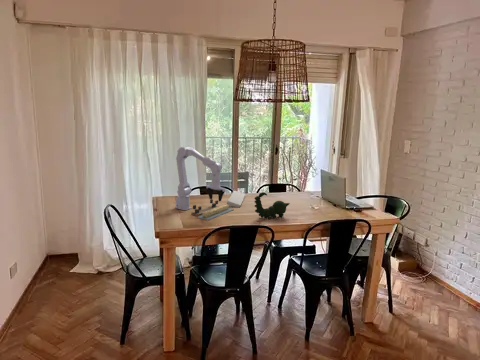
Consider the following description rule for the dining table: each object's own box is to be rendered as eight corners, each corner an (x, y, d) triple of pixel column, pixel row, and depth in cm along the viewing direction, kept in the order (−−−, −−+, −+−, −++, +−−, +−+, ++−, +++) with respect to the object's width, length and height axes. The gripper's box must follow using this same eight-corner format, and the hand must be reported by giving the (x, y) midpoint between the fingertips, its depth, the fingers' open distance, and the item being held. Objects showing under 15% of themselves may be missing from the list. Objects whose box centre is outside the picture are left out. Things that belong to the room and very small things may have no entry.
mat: (197, 217, 233) (197, 216, 233) (223, 207, 258) (223, 206, 258) (207, 220, 228) (207, 219, 228) (233, 209, 253) (233, 209, 253)
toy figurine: (258, 223, 232) (293, 217, 239) (257, 195, 227) (292, 190, 235) (253, 218, 240) (286, 213, 248) (252, 191, 236) (286, 186, 244)
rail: (202, 217, 233) (202, 212, 232) (225, 208, 254) (225, 204, 254) (206, 217, 231) (206, 213, 231) (228, 209, 253) (228, 204, 252)
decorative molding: (243, 199, 294) (232, 195, 295) (245, 194, 293) (234, 190, 294) (238, 211, 261) (225, 206, 262) (240, 205, 260) (227, 200, 261)
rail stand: (191, 214, 239) (191, 205, 238) (212, 206, 259) (212, 198, 258) (198, 216, 236) (198, 207, 235) (219, 208, 256) (219, 200, 255)
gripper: (228, 181, 239) (227, 200, 241) (210, 178, 246) (210, 197, 249) (222, 182, 233) (221, 202, 235) (204, 179, 240) (204, 199, 243)
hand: (215, 200), depth 242 cm, fingers open, 7 cm apart
